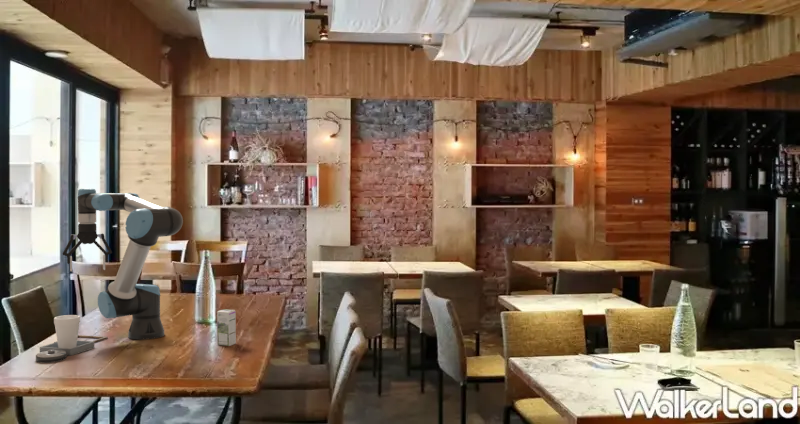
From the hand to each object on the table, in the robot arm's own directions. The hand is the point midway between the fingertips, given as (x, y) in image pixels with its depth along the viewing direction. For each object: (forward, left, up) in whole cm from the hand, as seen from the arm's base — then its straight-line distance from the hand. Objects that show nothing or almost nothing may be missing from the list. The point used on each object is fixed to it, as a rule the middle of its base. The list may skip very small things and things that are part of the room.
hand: (87, 270), depth 315 cm
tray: (-13, +30, -29) cm, 43 cm away
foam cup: (-13, +30, -28) cm, 43 cm away
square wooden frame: (-7, +14, -29) cm, 33 cm away
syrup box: (-70, +4, -29) cm, 76 cm away
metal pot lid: (-17, +44, -29) cm, 55 cm away
